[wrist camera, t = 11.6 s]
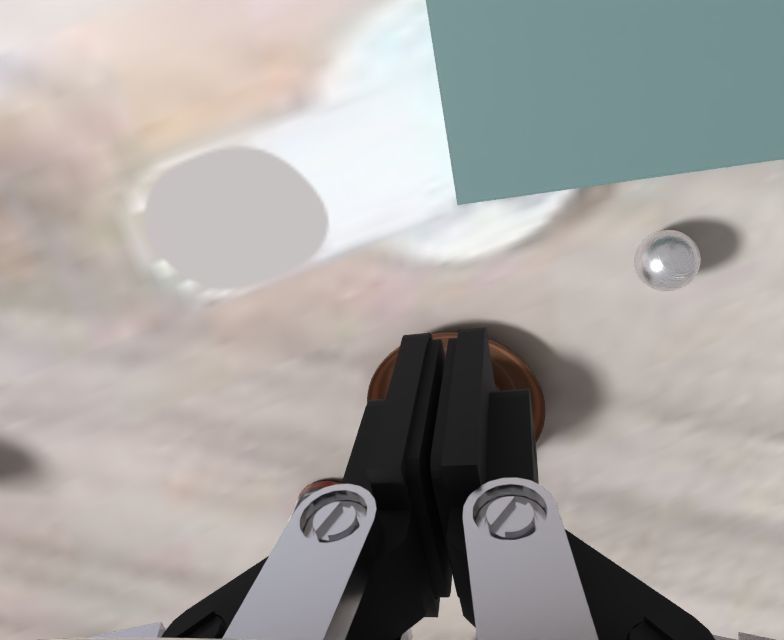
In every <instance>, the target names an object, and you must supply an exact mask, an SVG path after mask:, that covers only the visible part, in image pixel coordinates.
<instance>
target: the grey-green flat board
mask: <svg viewBox="0 0 784 640" xmlns="http://www.w3.org/2000/svg"><path fill="white" fill-rule="evenodd" d="M426 4H427V11H428V17H429V24H430V30H431V37H432V43H433V49H434V56H435V62H436V69H437V75H438V82H439V88H440V95H441V101H442V107H443V114H444V120H445V127H446V133H447V140H448V146H449V152H450V159H451V165H452V172H453V178H454V185H455V191H456V198H457V204H458V205H460V204H468V203H475V202H482V201H489V200H496V199H503V198H510V197H517V196H524V195H532V194H539V193H546V192H553V191H560V190H567V189H574V188H581V187H588V186H596V185H603V184H610V183H617V182H624V181H631V180H638V179H645V178H652V177H660V176H667V175H674V174H681V173H688V172H695V171H702V170H709V169H716V168H724V167H731V166H738V165H745V164H752V163H759V162H766V161H773V160H780V159H784V0H426Z"/></svg>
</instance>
